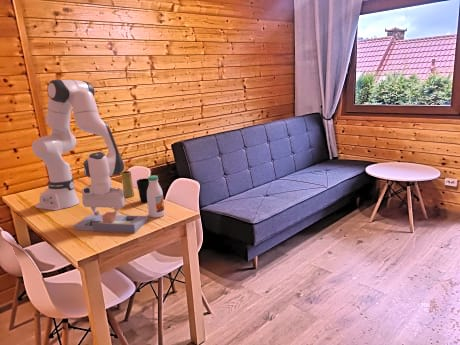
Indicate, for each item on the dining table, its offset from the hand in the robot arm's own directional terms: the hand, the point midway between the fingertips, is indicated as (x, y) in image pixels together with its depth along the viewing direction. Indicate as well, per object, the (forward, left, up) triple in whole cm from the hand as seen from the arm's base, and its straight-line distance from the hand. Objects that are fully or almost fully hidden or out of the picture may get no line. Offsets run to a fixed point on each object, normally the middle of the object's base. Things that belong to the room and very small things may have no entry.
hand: (106, 215), depth 170 cm
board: (+4, -3, -3) cm, 6 cm away
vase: (-7, +38, -4) cm, 38 cm away
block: (+4, -3, -1) cm, 5 cm away
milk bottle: (+21, +11, -4) cm, 24 cm away
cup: (+7, +30, -4) cm, 30 cm away
